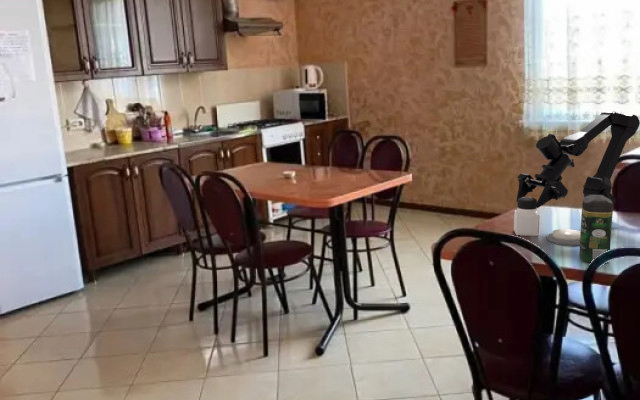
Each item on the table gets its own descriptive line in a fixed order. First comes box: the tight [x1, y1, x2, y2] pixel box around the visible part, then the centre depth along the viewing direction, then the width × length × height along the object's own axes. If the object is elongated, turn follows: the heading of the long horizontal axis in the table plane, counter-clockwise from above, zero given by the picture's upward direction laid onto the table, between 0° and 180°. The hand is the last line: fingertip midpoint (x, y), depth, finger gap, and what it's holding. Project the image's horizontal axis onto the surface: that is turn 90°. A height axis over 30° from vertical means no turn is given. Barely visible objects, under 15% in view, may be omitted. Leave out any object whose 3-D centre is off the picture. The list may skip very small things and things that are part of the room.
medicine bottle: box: [513, 196, 540, 237], centre depth 207 cm, size 7×7×12 cm
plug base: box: [546, 228, 581, 247], centre depth 198 cm, size 12×12×2 cm
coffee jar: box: [579, 195, 614, 263], centre depth 177 cm, size 10×8×19 cm
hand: (526, 204), depth 206 cm, fingers open, 9 cm apart
